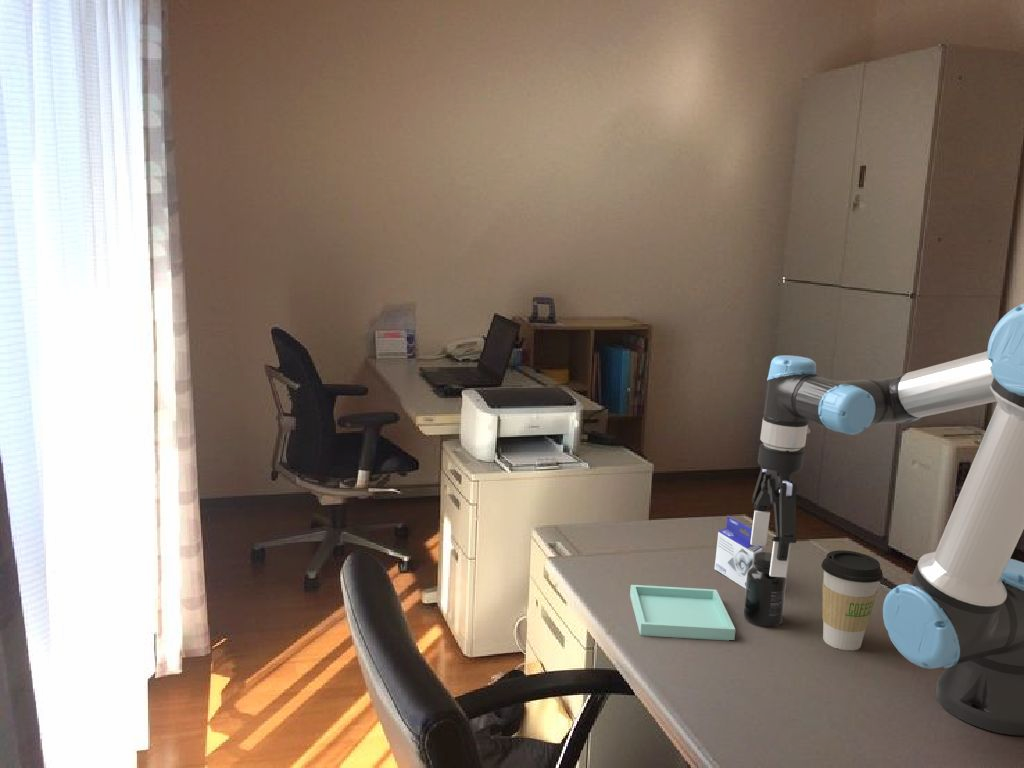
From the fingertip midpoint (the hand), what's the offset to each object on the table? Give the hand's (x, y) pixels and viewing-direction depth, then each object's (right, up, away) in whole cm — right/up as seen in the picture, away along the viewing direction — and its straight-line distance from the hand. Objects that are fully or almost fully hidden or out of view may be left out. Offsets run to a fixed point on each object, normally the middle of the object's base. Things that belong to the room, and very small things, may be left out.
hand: (767, 560), depth 162 cm
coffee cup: (+11, -13, -5) cm, 18 cm away
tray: (-15, -10, +1) cm, 19 cm away
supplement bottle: (0, -11, +2) cm, 11 cm away
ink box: (-1, -8, +19) cm, 20 cm away
